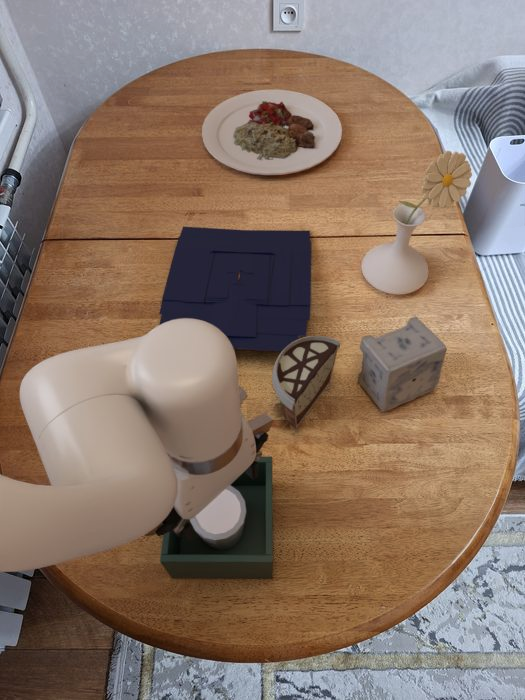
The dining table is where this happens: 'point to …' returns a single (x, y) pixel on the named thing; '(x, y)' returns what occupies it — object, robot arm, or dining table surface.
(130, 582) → the dining table surface
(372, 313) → the dining table surface
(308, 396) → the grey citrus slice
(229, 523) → the light grey rounded piece
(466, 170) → the flower in vase
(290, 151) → the plated food
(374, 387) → the incense holder
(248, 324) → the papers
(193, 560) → the open square box
